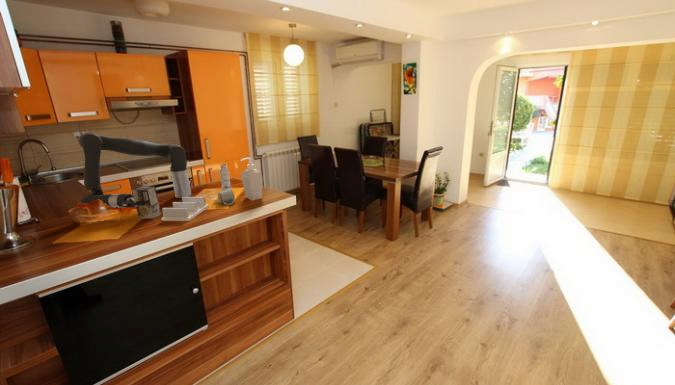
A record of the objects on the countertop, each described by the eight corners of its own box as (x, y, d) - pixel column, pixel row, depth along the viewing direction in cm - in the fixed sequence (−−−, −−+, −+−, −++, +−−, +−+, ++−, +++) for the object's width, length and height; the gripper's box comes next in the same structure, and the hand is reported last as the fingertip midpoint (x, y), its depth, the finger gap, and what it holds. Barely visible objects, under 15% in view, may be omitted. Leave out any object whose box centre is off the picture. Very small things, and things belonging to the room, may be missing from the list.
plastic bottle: (222, 196, 199) (218, 166, 193) (221, 193, 205) (217, 164, 199) (233, 194, 202) (229, 164, 196) (231, 192, 208) (227, 163, 202)
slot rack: (184, 207, 181) (182, 196, 179) (208, 207, 180) (206, 196, 178) (161, 220, 161) (159, 209, 159) (189, 221, 160) (187, 209, 158)
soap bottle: (240, 197, 195) (236, 157, 188) (255, 194, 202) (251, 155, 194) (249, 202, 186) (245, 160, 179) (264, 198, 193) (260, 157, 185)
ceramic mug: (218, 202, 188) (216, 190, 185) (231, 199, 192) (229, 187, 190) (223, 207, 180) (222, 194, 177) (237, 204, 184) (236, 191, 182)
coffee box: (161, 214, 170) (156, 186, 165) (154, 218, 164) (147, 189, 159) (146, 214, 171) (140, 186, 166) (138, 218, 165) (131, 189, 160)
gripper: (109, 198, 158) (139, 198, 157) (129, 190, 171) (157, 190, 170) (112, 211, 160) (142, 212, 159) (132, 202, 174) (159, 203, 172)
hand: (149, 200), depth 164 cm, fingers open, 8 cm apart
